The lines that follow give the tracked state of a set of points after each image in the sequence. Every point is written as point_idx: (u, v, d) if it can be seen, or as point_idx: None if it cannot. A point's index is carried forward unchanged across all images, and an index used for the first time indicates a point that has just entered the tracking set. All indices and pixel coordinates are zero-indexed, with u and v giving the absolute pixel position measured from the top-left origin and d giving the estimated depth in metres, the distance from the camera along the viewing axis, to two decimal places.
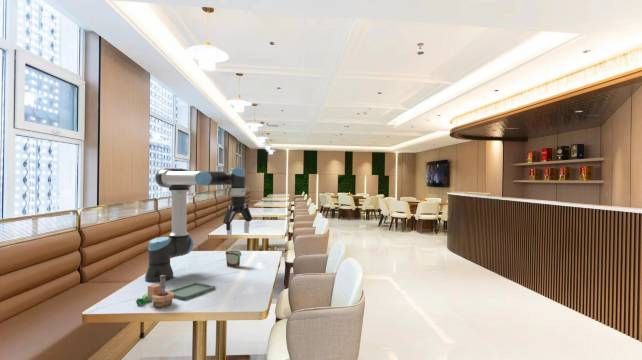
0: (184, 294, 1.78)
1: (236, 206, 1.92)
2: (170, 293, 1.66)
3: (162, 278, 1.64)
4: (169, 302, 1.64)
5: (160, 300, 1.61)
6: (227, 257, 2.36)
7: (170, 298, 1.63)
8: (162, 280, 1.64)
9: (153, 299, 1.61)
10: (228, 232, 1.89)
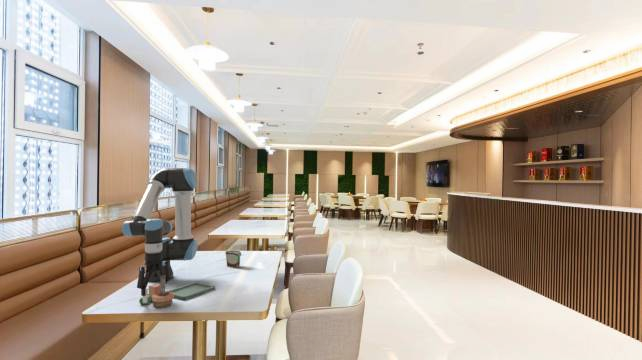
0: (184, 294, 1.78)
1: (150, 264, 1.65)
2: (170, 293, 1.66)
3: (162, 278, 1.64)
4: (169, 302, 1.64)
5: (160, 300, 1.61)
6: (227, 257, 2.36)
7: (170, 298, 1.63)
8: (162, 280, 1.64)
9: (153, 299, 1.61)
10: (144, 298, 1.64)
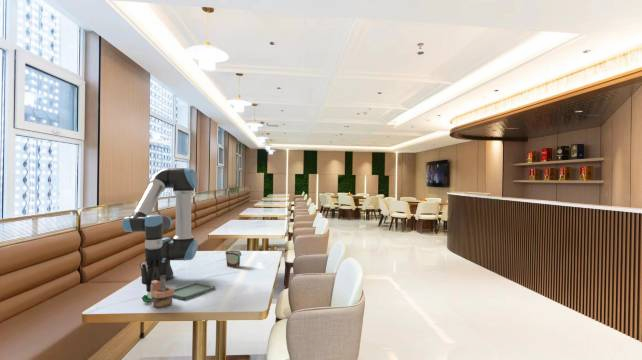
0: (184, 294, 1.78)
1: (150, 260, 1.65)
2: (171, 289, 1.66)
3: (162, 278, 1.64)
4: (169, 302, 1.64)
5: (161, 296, 1.61)
6: (227, 257, 2.36)
7: (171, 294, 1.64)
8: (162, 280, 1.64)
9: (154, 295, 1.62)
10: (149, 293, 1.67)
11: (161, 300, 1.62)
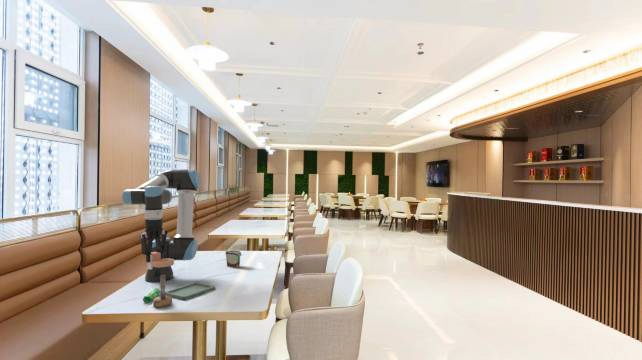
0: (184, 294, 1.78)
1: (150, 230, 1.65)
2: (170, 259, 1.66)
3: (162, 278, 1.64)
4: (169, 302, 1.64)
5: (160, 265, 1.60)
6: (227, 257, 2.36)
7: (170, 264, 1.63)
8: (162, 280, 1.64)
9: (153, 265, 1.61)
10: (149, 264, 1.66)
11: (161, 300, 1.62)
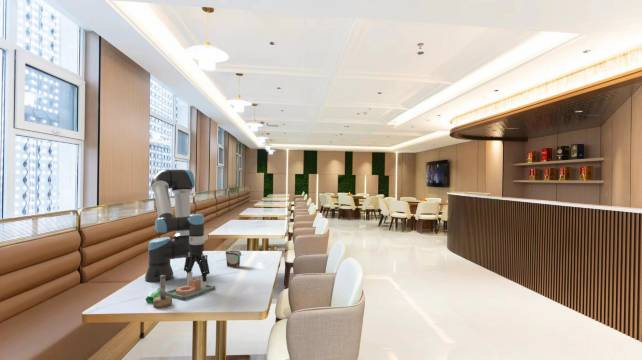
0: None
1: (191, 253, 1.87)
2: (185, 290, 1.78)
3: (162, 278, 1.64)
4: (169, 302, 1.64)
5: None
6: (227, 257, 2.36)
7: (179, 293, 1.77)
8: (162, 280, 1.64)
9: None
10: None
11: (161, 300, 1.62)
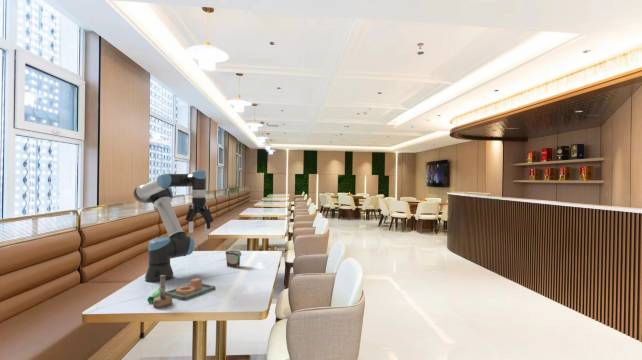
0: None
1: (194, 206, 2.06)
2: (185, 290, 1.78)
3: (162, 278, 1.64)
4: (169, 302, 1.64)
5: None
6: (227, 257, 2.36)
7: (179, 293, 1.77)
8: (162, 280, 1.64)
9: None
10: None
11: (161, 300, 1.62)
